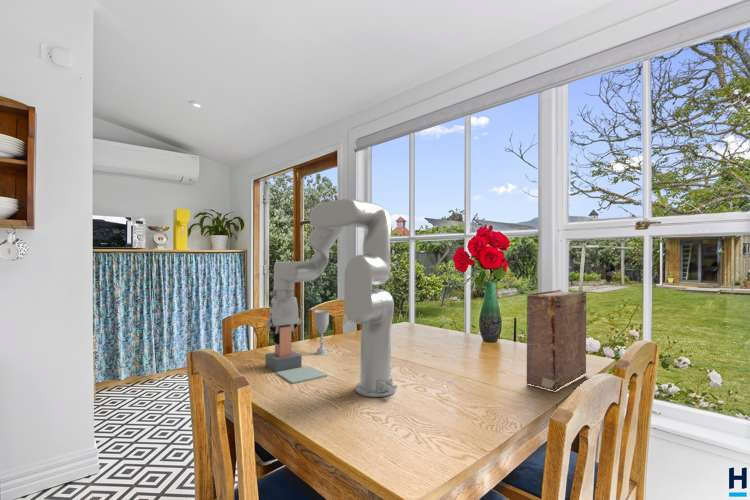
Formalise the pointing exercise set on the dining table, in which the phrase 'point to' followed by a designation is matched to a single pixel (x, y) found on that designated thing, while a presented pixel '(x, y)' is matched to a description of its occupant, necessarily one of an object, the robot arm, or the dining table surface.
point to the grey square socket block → (283, 362)
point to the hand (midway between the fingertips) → (283, 342)
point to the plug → (284, 341)
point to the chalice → (321, 327)
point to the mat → (301, 374)
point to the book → (555, 338)
